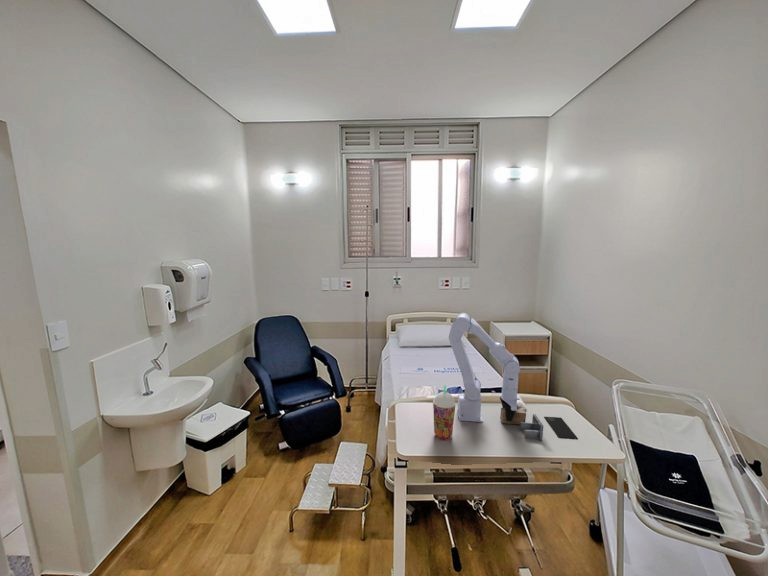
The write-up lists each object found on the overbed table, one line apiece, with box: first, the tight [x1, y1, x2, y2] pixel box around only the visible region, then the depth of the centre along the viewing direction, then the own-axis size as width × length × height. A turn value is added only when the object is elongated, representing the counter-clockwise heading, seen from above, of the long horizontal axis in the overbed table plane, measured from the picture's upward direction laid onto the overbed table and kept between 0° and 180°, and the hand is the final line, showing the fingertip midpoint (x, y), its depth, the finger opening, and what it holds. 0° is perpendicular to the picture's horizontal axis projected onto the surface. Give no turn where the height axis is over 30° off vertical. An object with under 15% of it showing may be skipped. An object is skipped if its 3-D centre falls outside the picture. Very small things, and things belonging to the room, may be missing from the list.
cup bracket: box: [519, 413, 544, 442], centre depth 121 cm, size 6×8×6 cm
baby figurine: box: [517, 393, 526, 410], centre depth 141 cm, size 9×12×8 cm
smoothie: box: [432, 385, 457, 441], centre depth 119 cm, size 8×8×20 cm
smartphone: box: [543, 416, 579, 440], centre depth 126 cm, size 7×1×15 cm
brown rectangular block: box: [499, 407, 527, 425], centre depth 129 cm, size 9×3×5 cm, turn 84°
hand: (507, 418), depth 129 cm, fingers closed on brown rectangular block, 3 cm apart
